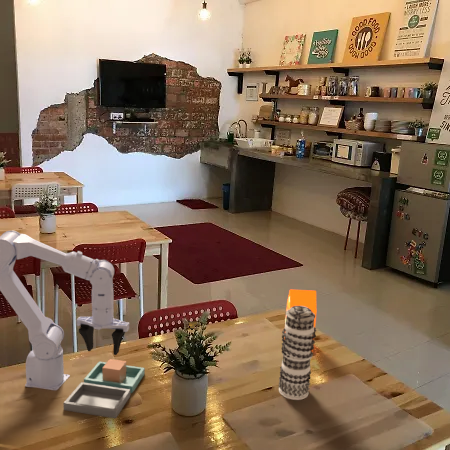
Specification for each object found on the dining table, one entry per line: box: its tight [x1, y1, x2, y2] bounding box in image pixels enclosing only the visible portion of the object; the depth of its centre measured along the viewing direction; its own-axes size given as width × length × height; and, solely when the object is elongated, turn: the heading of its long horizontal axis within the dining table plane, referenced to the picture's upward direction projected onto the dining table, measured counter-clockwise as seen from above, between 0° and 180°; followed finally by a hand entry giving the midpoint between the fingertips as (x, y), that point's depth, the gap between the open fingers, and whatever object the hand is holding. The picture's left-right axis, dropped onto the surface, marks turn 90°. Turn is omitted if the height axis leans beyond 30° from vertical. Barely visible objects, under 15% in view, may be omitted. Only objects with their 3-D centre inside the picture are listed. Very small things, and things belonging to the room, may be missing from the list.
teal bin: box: [83, 361, 146, 394], centre depth 142 cm, size 14×10×2 cm
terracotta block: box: [102, 358, 127, 383], centre depth 142 cm, size 5×5×5 cm
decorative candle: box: [278, 306, 317, 401], centre depth 139 cm, size 9×9×25 cm
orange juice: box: [284, 289, 318, 353], centre depth 166 cm, size 8×9×20 cm
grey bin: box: [63, 381, 131, 419], centre depth 131 cm, size 14×10×2 cm
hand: (103, 351), depth 140 cm, fingers open, 7 cm apart
